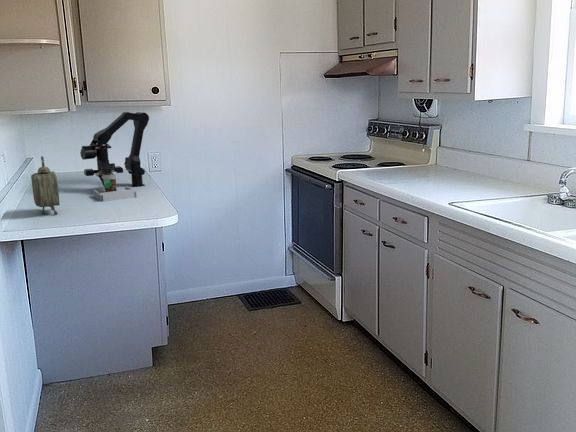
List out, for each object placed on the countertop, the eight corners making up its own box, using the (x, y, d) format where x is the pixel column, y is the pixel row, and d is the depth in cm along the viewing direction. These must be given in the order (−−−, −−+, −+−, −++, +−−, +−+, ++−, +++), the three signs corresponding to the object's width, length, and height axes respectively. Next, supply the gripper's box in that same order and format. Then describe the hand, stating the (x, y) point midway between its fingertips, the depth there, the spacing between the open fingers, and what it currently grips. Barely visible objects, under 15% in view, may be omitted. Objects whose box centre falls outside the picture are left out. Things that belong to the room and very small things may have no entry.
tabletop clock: (61, 215, 247) (54, 157, 241) (38, 218, 243) (31, 159, 237) (56, 208, 260) (50, 153, 254) (35, 211, 256) (28, 155, 250)
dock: (93, 195, 285) (92, 188, 284) (127, 192, 294) (127, 184, 293) (101, 201, 273) (100, 193, 272) (136, 197, 282) (135, 189, 281)
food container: (101, 191, 296) (100, 172, 294) (114, 190, 298) (112, 171, 296) (104, 196, 285) (102, 176, 283) (117, 194, 287) (115, 175, 285)
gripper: (87, 161, 283) (90, 192, 287) (124, 158, 292) (127, 188, 296) (82, 158, 293) (85, 188, 296) (119, 155, 302) (121, 184, 306)
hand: (105, 187), depth 298 cm, fingers closed
